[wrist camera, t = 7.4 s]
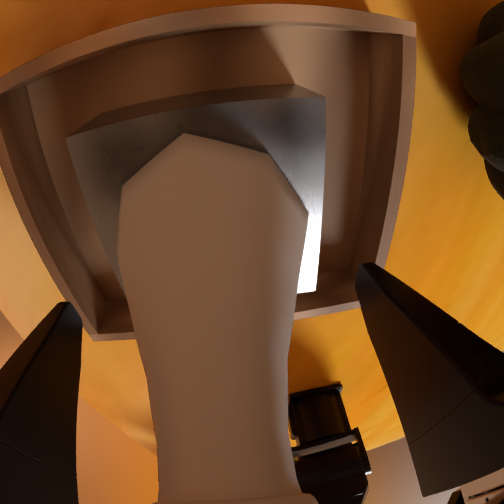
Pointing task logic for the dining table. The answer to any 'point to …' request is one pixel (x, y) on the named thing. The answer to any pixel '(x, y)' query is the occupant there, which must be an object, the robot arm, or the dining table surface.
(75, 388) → the robot arm
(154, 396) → the flask
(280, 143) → the block
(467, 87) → the squash
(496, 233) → the dining table surface
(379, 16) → the brown tray
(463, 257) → the dining table surface
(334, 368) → the dining table surface
